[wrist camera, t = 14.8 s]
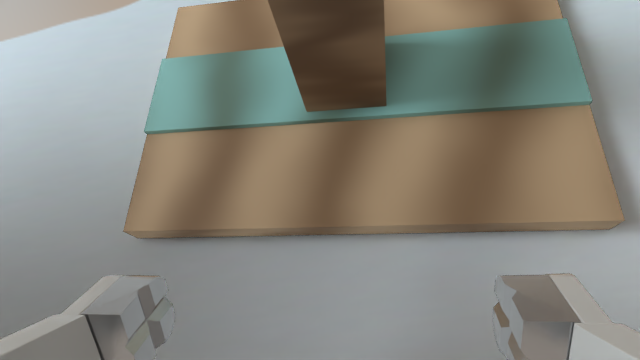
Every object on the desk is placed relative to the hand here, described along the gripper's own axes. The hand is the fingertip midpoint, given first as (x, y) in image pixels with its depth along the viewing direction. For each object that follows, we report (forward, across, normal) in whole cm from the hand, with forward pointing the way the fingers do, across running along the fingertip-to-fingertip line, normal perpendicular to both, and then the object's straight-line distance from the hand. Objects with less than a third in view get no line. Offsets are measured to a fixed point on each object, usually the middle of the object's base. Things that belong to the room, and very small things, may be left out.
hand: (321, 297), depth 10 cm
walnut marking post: (+13, 0, -4) cm, 14 cm away
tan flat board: (+14, 0, -2) cm, 14 cm away
